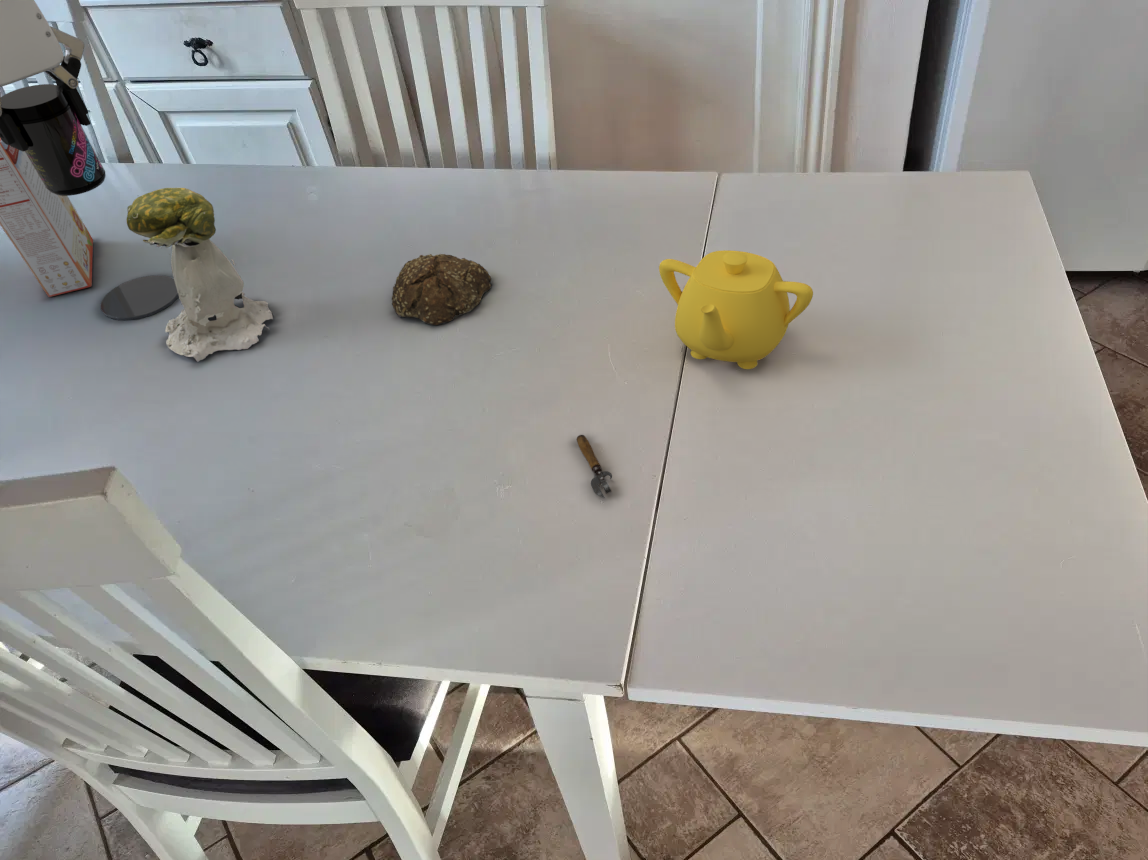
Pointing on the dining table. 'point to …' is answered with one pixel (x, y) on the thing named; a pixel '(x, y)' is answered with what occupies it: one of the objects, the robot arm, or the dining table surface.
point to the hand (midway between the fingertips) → (50, 134)
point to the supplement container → (54, 139)
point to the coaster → (139, 297)
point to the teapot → (733, 305)
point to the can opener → (594, 466)
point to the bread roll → (439, 288)
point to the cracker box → (43, 226)
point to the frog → (198, 274)
